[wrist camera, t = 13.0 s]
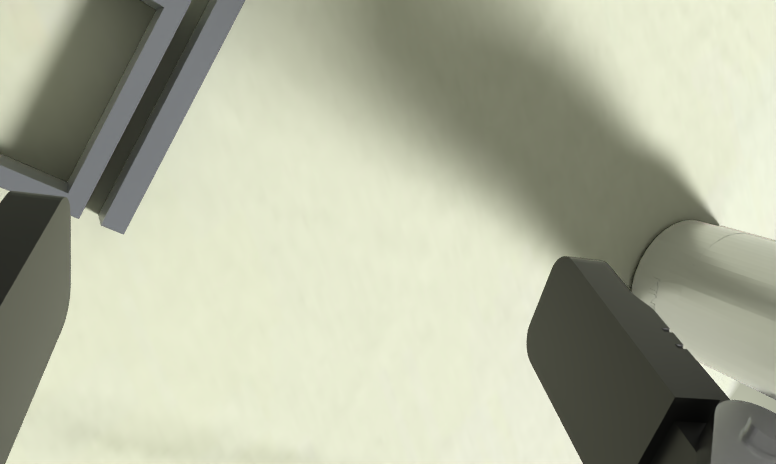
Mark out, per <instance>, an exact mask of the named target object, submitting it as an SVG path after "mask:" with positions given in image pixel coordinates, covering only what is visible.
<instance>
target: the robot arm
mask: <svg viewBox="0 0 776 464" xmlns="http://www.w3.org/2000/svg"><path fill="white" fill-rule="evenodd" d="M70 288H71V215H70V203H69V200H68V198H67V197H63V196H54V195H45V194H37V193H28V192H20V191H10V192H8V194H7V195H6V196H5V197H4V199H3V200H2V201H1V203H0V464H5V463H6V460H7V458H8V456H9V453H10V451H11V449H12V446H13V444H14V442H15V439H16V437H17V434H18V432H19V430H20V427H21V425H22V423H23V420H24V418H25V416H26V413H27V411H28V408H29V406H30V404H31V401H32V399H33V397H34V394H35V392H36V389H37V387H38V385H39V382H40V380H41V378H42V375H43V373H44V371H45V368H46V366H47V363H48V361H49V359H50V356H51V354H52V352H53V349H54V347H55V345H56V342H57V340H58V337H59V335H60V333H61V330H62V328H63V325H64V322H65V319H66V315H67V311H68V306H69V299H70ZM527 353H528V357H529V360H530V362H531V364H532V366H533V368H534V370H535V372H536V374H537V376H538V378H539V380H540V382H541V384H542V386H543V387H544V389H545V391H546V393H547V395H548V397H549V399H550V401H551V403H552V405H553V407H554V409H555V411H556V412H557V414H558V416H559V418H560V420H561V422H562V424H563V426H564V428H565V430H566V432H567V434H568V436H569V437H570V439H571V441H572V443H573V445H574V447H575V449H576V451H577V453H578V455H579V457H580V459H581V461H582V462H583V464H776V413H774V412H772V411H770V410H768V409H766V408H763V407H761V406H758V405H756V404H753V403H749V402H745V401H739V400H730V399H729V398H728V397H727V396H726V394H725V393H724V392H723V391H722V390H721V388H720V387H719V386H718V385H717V384H716V383H715V381H714V380H713V379H712V378H711V377H710V375H709V374H708V373H707V372H706V371H705V370H704V368H703V367H702V366H701V365H700V364H699V362H700V363H702V364H704V365H706V366H708V367H710V368H712V369H714V370H716V371H718V372H720V373H722V374H724V375H726V376H728V377H731V378H733V379H735V380H737V381H739V382H741V383H743V384H745V385H747V386H749V387H751V388H753V389H755V390H757V391H759V392H761V393H763V394H765V395H767V396H769V397H771V398H773V399H775V400H776V240H772V239H769V238H765V237H761V236H758V235H754V234H750V233H747V232H743V231H740V230H736V229H732V228H729V227H725V226H716V225H712V224H709V223H705V222H701V221H697V220H684V221H681V222H678V223H675V224H673V225H672V226H670V227H668V228H667V229H665V230H664V231H663V232H662V233H661V234H660V235H658V236H657V237H656V238H655V239H654V241H653V242H652V243H651V244H650V246H649V247H648V248H647V250H646V251H645V253H644V255H643V257H642V258H641V260H640V262H639V265H638V267H637V270H636V272H635V275H634V280H633V284H632V291H630V290H629V289H628V288H627V286H626V285H625V284H624V283H623V281H622V280H621V279H620V278H619V277H618V275H617V274H616V273H615V272H614V271H613V269H612V268H611V267H610V266H609V265H608V264H607V263H606V262H604V261H601V260H593V259H584V258H576V257H567V256H564V257H561V258H559V259H558V260H557V261H556V262H555V264H554V266H553V268H552V270H551V272H550V275H549V277H548V280H547V282H546V285H545V287H544V290H543V292H542V295H541V297H540V300H539V303H538V305H537V308H536V310H535V313H534V315H533V318H532V320H531V323H530V325H529V329H528V333H527Z"/></svg>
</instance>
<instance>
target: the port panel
mask: <svg viewBox="0 0 776 464" xmlns="http://www.w3.org/2000/svg"><path fill="white" fill-rule="evenodd" d="M140 1H142V2H144V3H145V4H147V5H149V6H150V7H152V8H154V9H155V10H156V12H155V13H154V15H153V17H152V19H151V21H150V23H149V25H148V27H147V29H146V31H145V33H144V35H143V37H142V39H141V41H140V42H139V44H138V46H137V48H136V50H135V52H134V54H133V56H132V58H131V60H130V62H129V64H128V66H127V68H126V70H125V72H124V73H123V75H122V77H121V79H120V81H119V83H118V85H117V87H116V89H115V91H114V93H113V95H112V97H111V99H110V101H109V102H108V104H107V106H106V108H105V110H104V112H103V114H102V116H101V118H100V120H99V122H98V124H97V126H96V128H95V130H94V132H93V133H92V135H91V137H90V139H89V141H88V143H87V145H86V147H85V149H84V151H83V153H82V155H81V157H80V159H79V161H78V162H77V164H76V166H75V168H74V170H73V172H72V174H71V176H70V178H69V180H68V182H65V181H63V180H61V179H58V178H56V177H54V176H51V175H49V174H47V173H44V172H42V171H40V170H37V169H35V168H33V167H30V166H28V165H26V164H23V163H21V162H19V161H16V160H14V159H12V158H9V157H7V156H5V155H2V154H0V187H1V188H3V189H6V190H8V191H20V192H28V193H37V194H45V195H54V196H63V197H67V198H68V200H69V203H70V215H71V216H73V217H75V218H78V219H79V218H80V216H81V214H82V212H83V210H84V208H85V206H86V204H87V202H88V200H89V198H90V197H91V195H92V193H93V191H94V189H95V187H96V185H97V183H98V181H99V179H100V177H101V175H102V173H103V171H104V169H105V168H106V166H107V164H108V162H109V160H110V158H111V156H112V154H113V152H114V150H115V148H116V146H117V144H118V142H119V140H120V139H121V137H122V135H123V133H124V131H125V129H126V127H127V125H128V123H129V121H130V119H131V117H132V115H133V113H134V112H135V110H136V108H137V106H138V104H139V102H140V100H141V98H142V96H143V94H144V92H145V90H146V88H147V86H148V84H149V83H150V81H151V79H152V77H153V75H154V73H155V71H156V69H157V67H158V65H159V63H160V61H161V59H162V57H163V55H164V54H165V52H166V50H167V48H168V46H169V44H170V42H171V40H172V38H173V36H174V34H175V32H176V30H177V28H178V27H179V25H180V23H181V21H182V19H183V17H184V15H185V13H186V11H187V9H188V7H189V5H190V3H191V0H140ZM244 2H245V0H209V2H208V4H207V6H206V8H205V10H204V12H203V14H202V16H201V18H200V19H199V21H198V23H197V25H196V27H195V29H194V31H193V33H192V35H191V37H190V39H189V41H188V43H187V45H186V46H185V48H184V50H183V52H182V54H181V56H180V58H179V60H178V62H177V64H176V66H175V68H174V70H173V72H172V73H171V75H170V77H169V79H168V81H167V83H166V85H165V87H164V89H163V91H162V93H161V95H160V97H159V99H158V101H157V102H156V104H155V106H154V108H153V110H152V112H151V114H150V116H149V118H148V120H147V122H146V124H145V126H144V128H143V129H142V131H141V133H140V135H139V137H138V139H137V141H136V143H135V145H134V147H133V149H132V151H131V153H130V155H129V156H128V158H127V160H126V162H125V164H124V166H123V168H122V170H121V172H120V174H119V176H118V178H117V180H116V182H115V183H114V185H113V187H112V189H111V191H110V193H109V195H108V197H107V199H106V201H105V203H104V205H103V207H102V209H101V211H100V212H99V214H98V215H99V219H100V224H101V226H104V227H106V228H109V229H111V230H114V231H116V232H119V233H121V234H124V233H125V231H126V229H127V227H128V225H129V223H130V221H131V219H132V217H133V216H134V214H135V212H136V210H137V208H138V206H139V204H140V202H141V200H142V198H143V196H144V194H145V192H146V191H147V189H148V187H149V185H150V183H151V181H152V179H153V177H154V175H155V173H156V171H157V169H158V167H159V165H160V164H161V162H162V160H163V158H164V156H165V154H166V152H167V150H168V148H169V146H170V144H171V142H172V140H173V139H174V137H175V135H176V133H177V131H178V129H179V127H180V125H181V123H182V121H183V119H184V117H185V115H186V113H187V112H188V110H189V108H190V106H191V104H192V102H193V100H194V98H195V96H196V94H197V92H198V90H199V88H200V87H201V85H202V83H203V81H204V79H205V77H206V75H207V73H208V71H209V69H210V67H211V65H212V63H213V62H214V60H215V58H216V56H217V54H218V52H219V50H220V48H221V46H222V44H223V42H224V40H225V38H226V36H227V35H228V33H229V31H230V29H231V27H232V25H233V23H234V21H235V19H236V17H237V15H238V13H239V11H240V10H241V8H242V6H243V4H244Z"/></svg>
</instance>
